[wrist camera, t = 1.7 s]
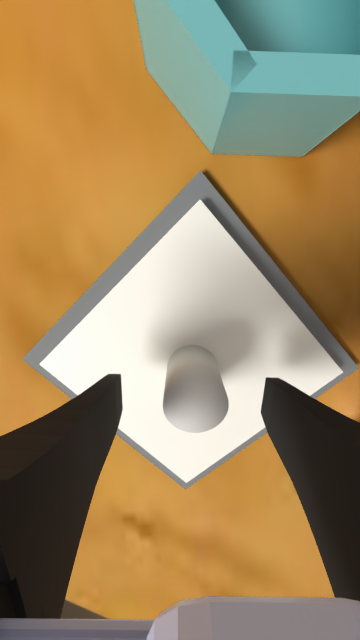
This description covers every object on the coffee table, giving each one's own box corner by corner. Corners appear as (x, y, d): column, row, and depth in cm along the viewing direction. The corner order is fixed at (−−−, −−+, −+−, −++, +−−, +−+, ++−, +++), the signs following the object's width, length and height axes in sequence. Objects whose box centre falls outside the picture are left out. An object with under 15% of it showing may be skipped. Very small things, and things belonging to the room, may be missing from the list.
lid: (336, 367, 14) (396, 410, 10) (186, 475, 17) (187, 543, 13) (199, 201, 12) (208, 175, 8) (44, 359, 14) (-8, 400, 10)
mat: (354, 365, 15) (359, 368, 14) (185, 484, 18) (185, 489, 17) (199, 173, 12) (200, 170, 11) (26, 356, 14) (22, 359, 14)
